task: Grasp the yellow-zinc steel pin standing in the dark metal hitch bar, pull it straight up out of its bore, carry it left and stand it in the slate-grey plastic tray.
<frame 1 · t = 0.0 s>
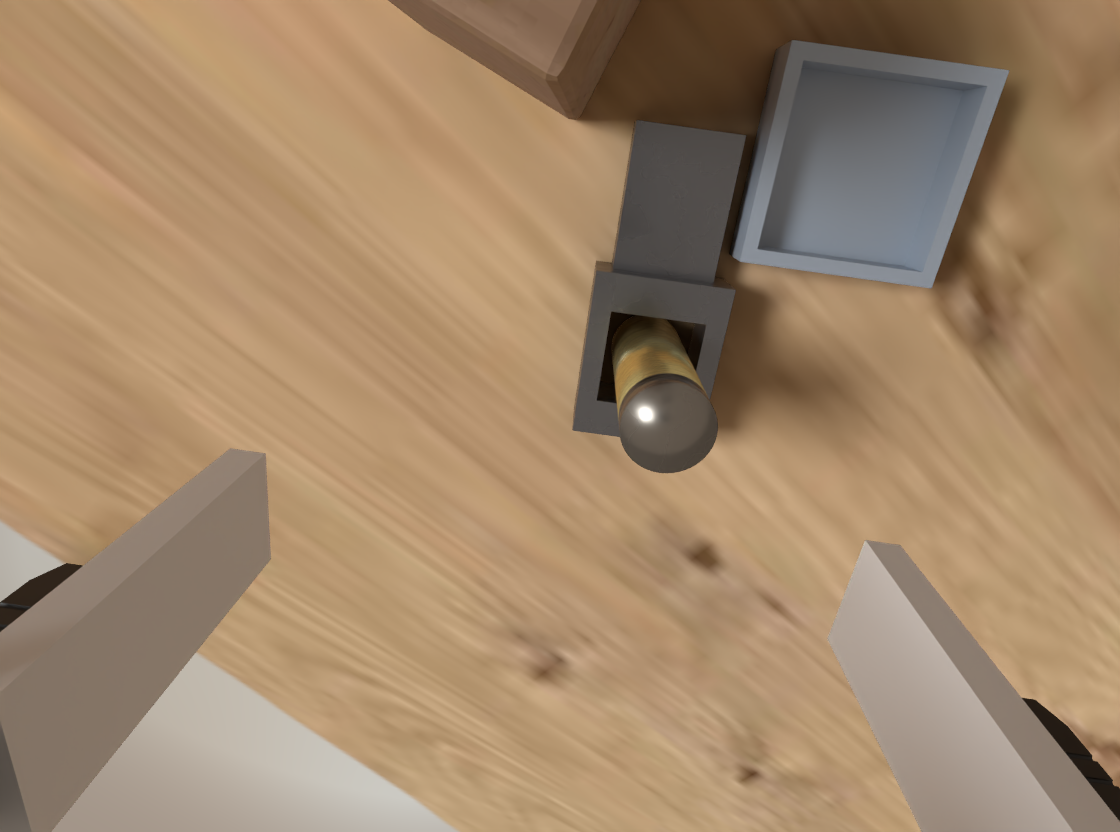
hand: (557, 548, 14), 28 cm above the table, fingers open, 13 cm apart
tray: (845, 170, 36), on the table
hitch bar: (645, 347, 41), on the table
pin: (654, 380, 35), in the hitch bar
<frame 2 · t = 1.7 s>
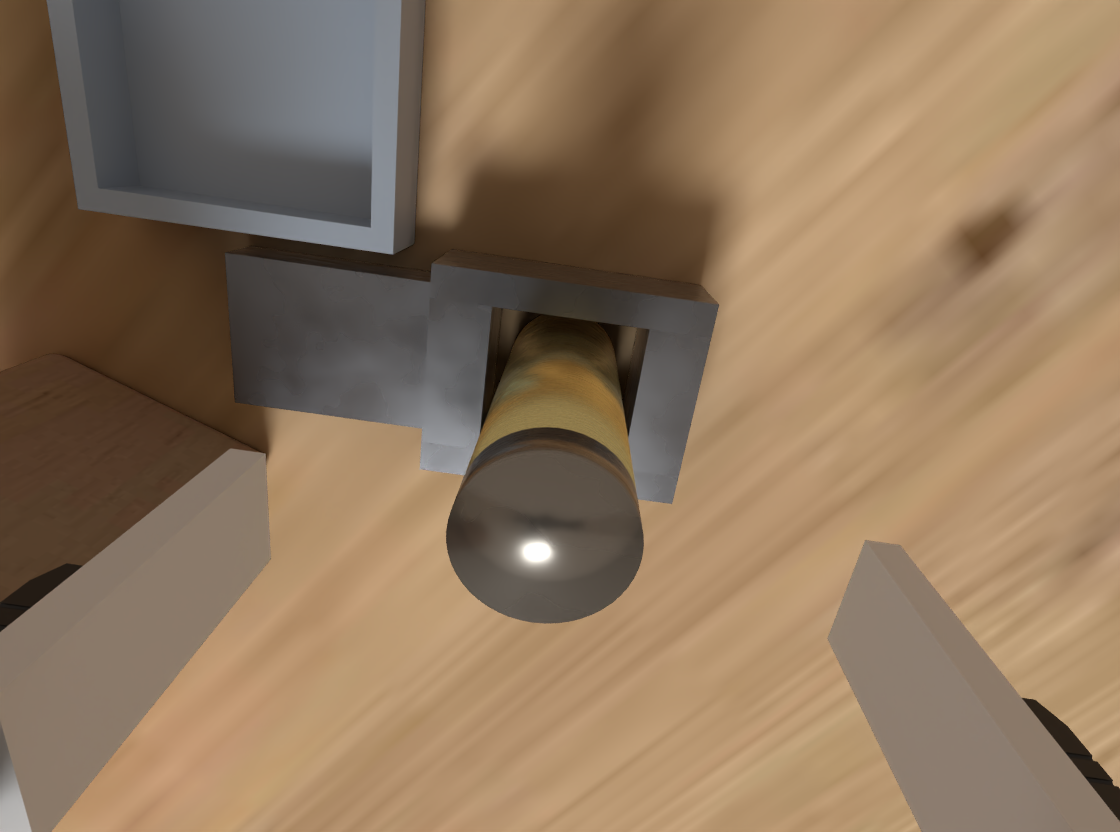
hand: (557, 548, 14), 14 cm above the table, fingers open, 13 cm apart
tray: (269, 66, 23), on the table
hitch bar: (563, 362, 26), on the table
pin: (556, 425, 20), in the hitch bar
wooden block: (140, 484, 30), on the table
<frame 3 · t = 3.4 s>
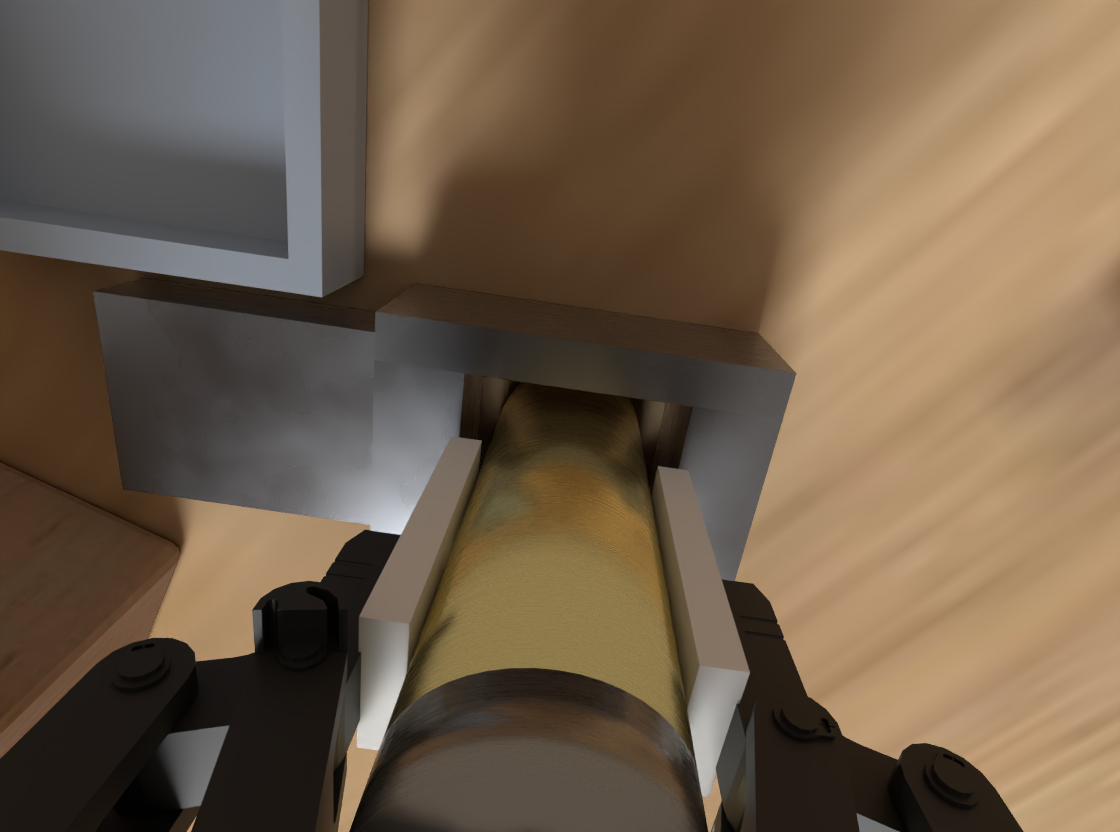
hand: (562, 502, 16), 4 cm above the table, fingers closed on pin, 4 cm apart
tray: (151, 27, 16), on the table
hitch bar: (568, 434, 20), on the table
pin: (556, 562, 13), in the hitch bar, touching gripper
wooden block: (24, 577, 23), on the table
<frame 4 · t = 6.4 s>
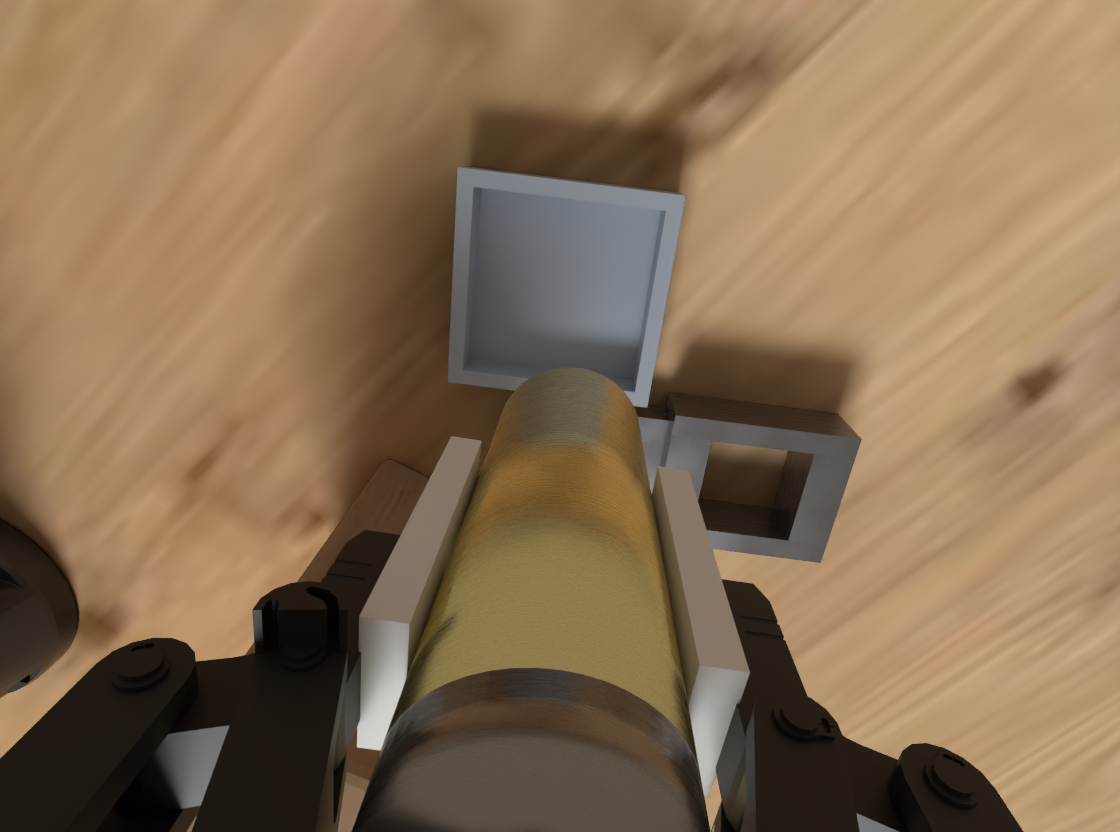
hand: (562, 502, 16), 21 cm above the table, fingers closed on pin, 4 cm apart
tray: (561, 284, 35), on the table
hitch bar: (738, 463, 38), on the table
pin: (558, 562, 13), point 24 cm above the table, touching gripper
wooden block: (427, 543, 42), on the table
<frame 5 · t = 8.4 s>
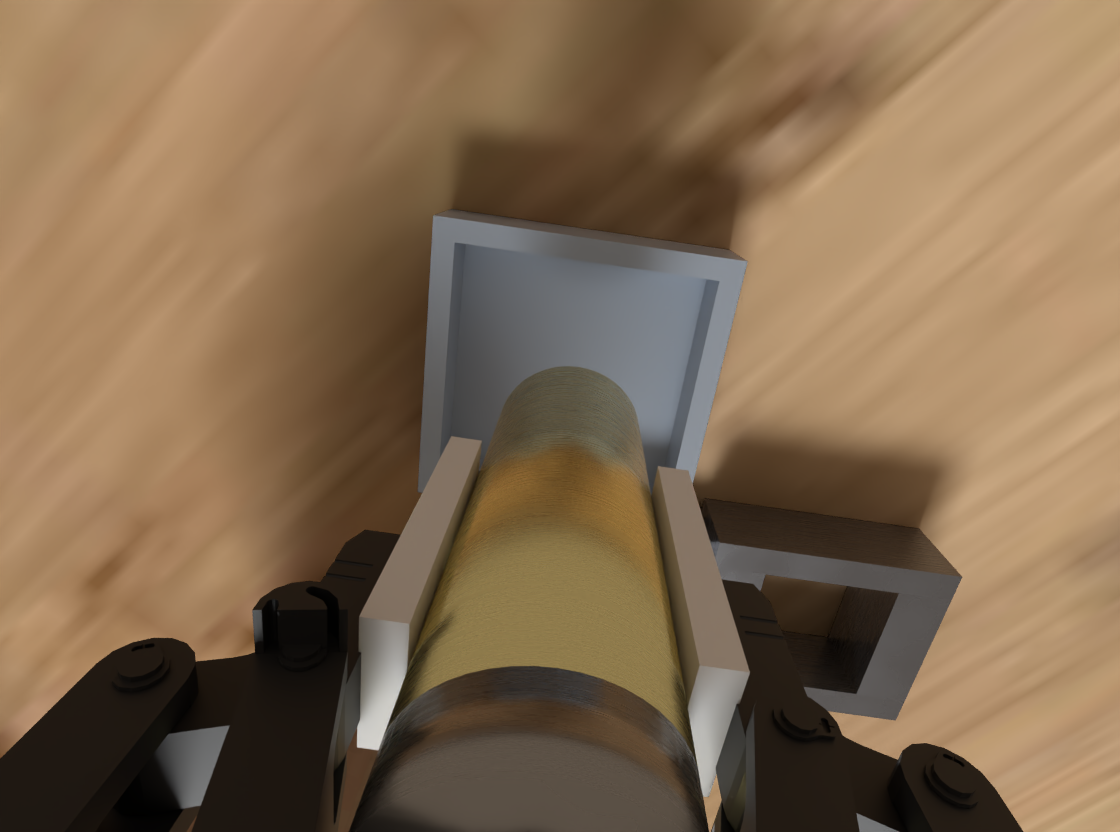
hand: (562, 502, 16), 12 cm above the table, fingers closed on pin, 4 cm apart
tray: (570, 362, 27), on the table
hitch bar: (788, 584, 30), on the table
pin: (557, 561, 13), point 14 cm above the table, touching gripper
wooden block: (393, 668, 34), on the table
when the fingers open (6 cm above the table, at t = 9.7 s): pin drops 1 cm, resting on tray.
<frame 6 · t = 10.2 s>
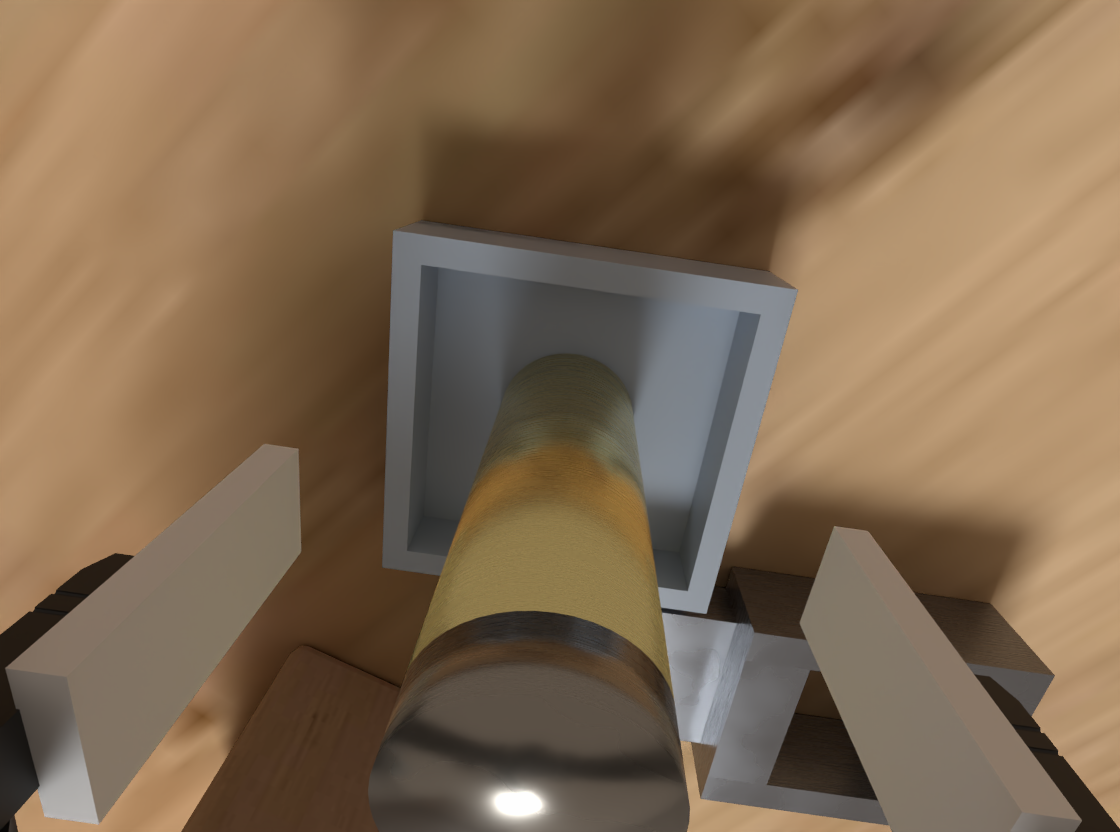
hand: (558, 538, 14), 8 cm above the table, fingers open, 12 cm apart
tray: (570, 407, 22), on the table
hitch bar: (830, 665, 25), on the table
pin: (555, 531, 15), in the tray, point 8 cm above the table
wooden block: (364, 751, 29), on the table
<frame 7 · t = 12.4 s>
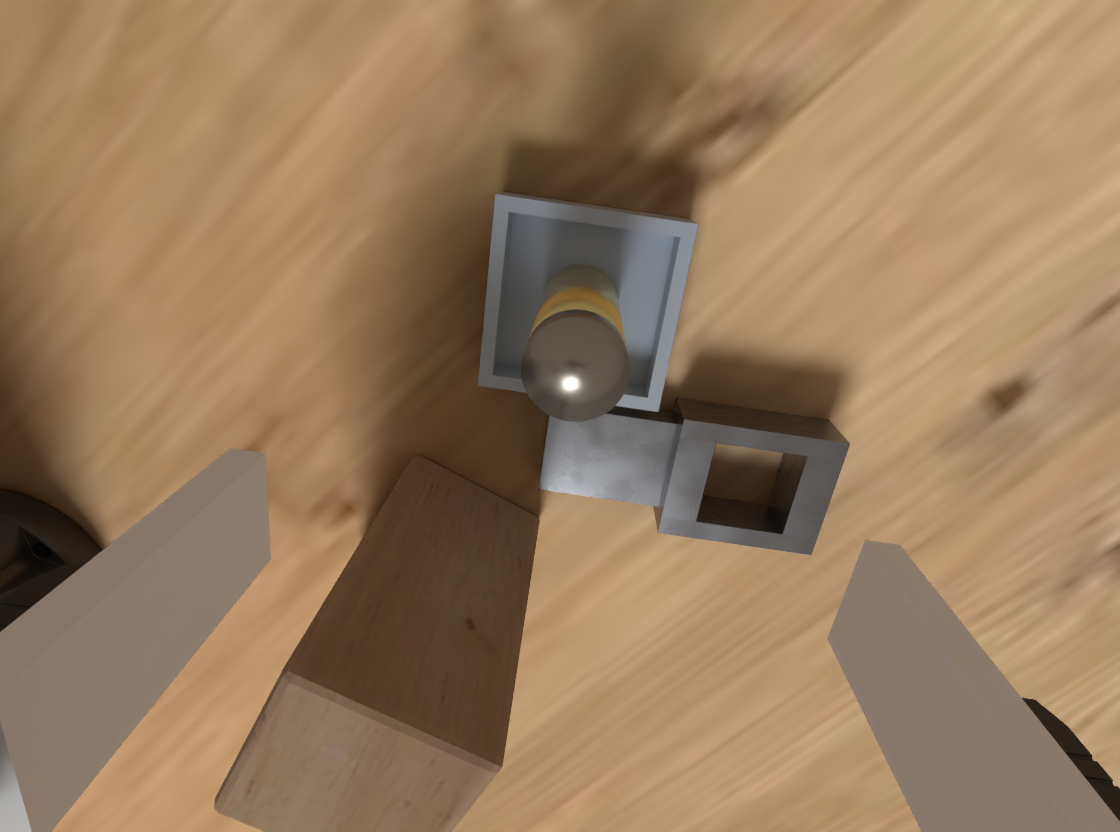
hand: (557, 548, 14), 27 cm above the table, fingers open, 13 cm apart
tray: (582, 298, 38), on the table
hitch bar: (737, 463, 42), on the table
pin: (578, 329, 31), in the tray, point 8 cm above the table
wooden block: (449, 533, 46), on the table
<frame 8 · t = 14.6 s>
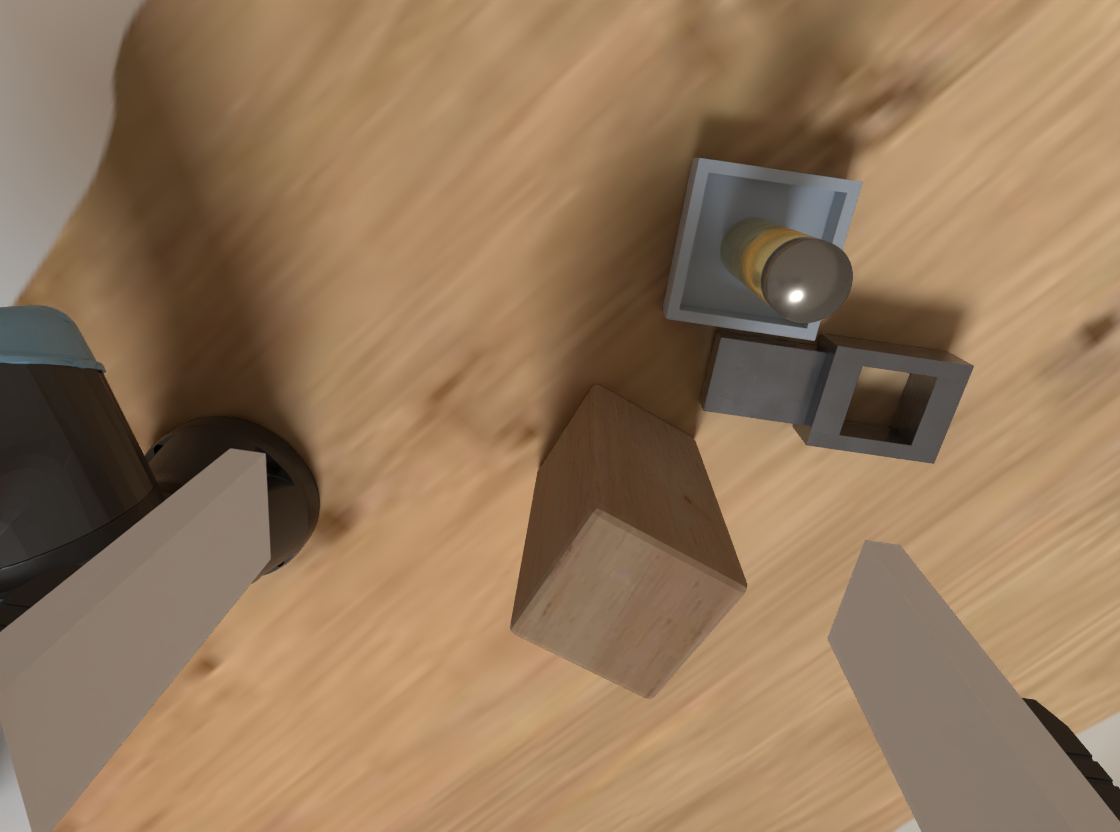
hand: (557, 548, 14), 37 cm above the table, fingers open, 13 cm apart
tray: (749, 248, 47), on the table
hitch bar: (868, 390, 50), on the table
pin: (775, 263, 40), in the tray, point 8 cm above the table
wooden block: (614, 455, 54), on the table
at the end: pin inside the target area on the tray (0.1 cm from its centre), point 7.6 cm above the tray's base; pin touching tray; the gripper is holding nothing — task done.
